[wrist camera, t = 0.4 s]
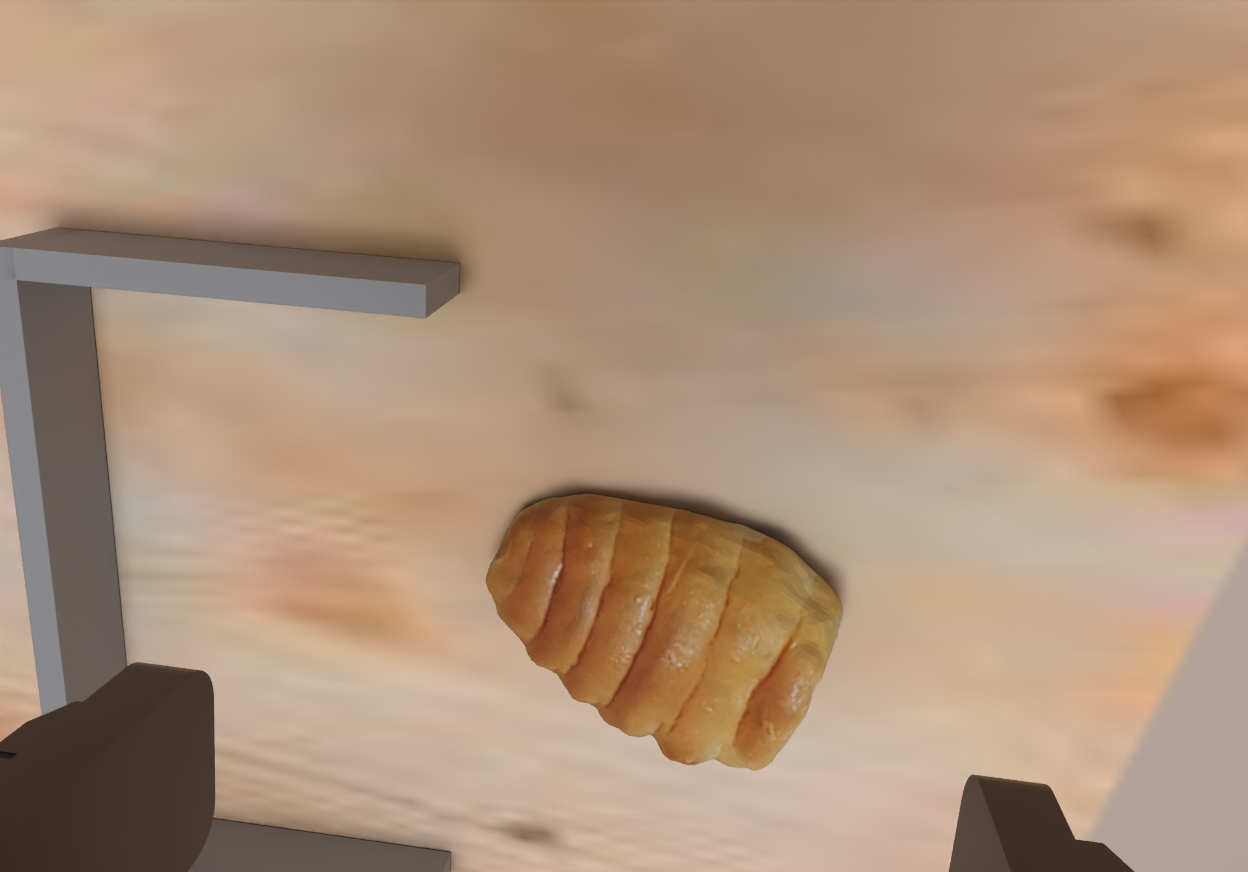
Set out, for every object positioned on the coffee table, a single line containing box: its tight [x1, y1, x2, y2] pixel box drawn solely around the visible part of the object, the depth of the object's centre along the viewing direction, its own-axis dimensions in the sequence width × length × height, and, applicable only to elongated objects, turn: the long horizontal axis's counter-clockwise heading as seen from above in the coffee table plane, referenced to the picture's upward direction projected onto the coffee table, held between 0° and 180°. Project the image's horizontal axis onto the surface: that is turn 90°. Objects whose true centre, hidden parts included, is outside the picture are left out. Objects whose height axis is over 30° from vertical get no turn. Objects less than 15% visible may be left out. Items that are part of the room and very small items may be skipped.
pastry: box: [486, 494, 843, 770], centre depth 30 cm, size 9×7×4 cm
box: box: [0, 228, 460, 872], centre depth 31 cm, size 20×11×3 cm, turn 176°
